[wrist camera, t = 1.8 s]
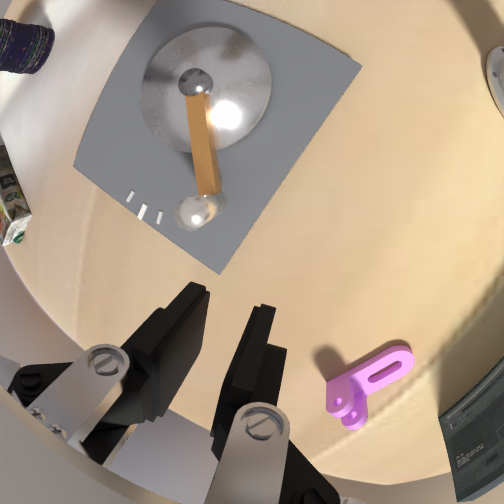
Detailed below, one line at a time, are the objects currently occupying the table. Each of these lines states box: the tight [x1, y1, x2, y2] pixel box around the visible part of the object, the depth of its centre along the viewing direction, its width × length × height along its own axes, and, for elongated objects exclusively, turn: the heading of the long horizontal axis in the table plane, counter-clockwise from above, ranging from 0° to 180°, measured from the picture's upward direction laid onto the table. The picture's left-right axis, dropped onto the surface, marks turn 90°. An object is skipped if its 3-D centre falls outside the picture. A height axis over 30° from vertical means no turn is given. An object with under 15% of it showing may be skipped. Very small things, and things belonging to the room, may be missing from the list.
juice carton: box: [0, 145, 32, 246], centre depth 37 cm, size 20×10×6 cm, turn 35°
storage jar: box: [0, 19, 55, 74], centre depth 21 cm, size 10×10×15 cm
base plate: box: [73, 0, 362, 275], centre depth 27 cm, size 28×26×2 cm
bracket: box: [326, 345, 414, 430], centre depth 32 cm, size 13×6×7 cm, turn 132°
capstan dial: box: [140, 27, 273, 231], centre depth 22 cm, size 20×14×8 cm
